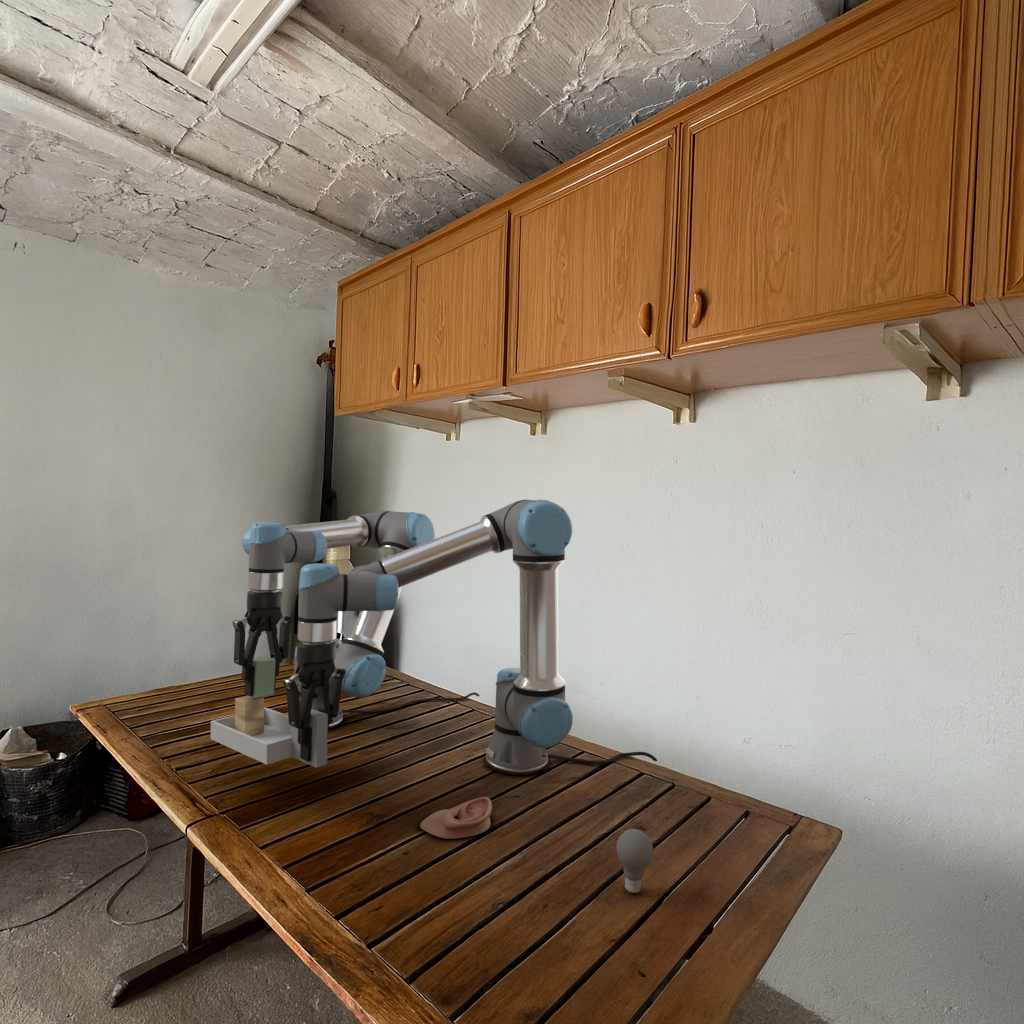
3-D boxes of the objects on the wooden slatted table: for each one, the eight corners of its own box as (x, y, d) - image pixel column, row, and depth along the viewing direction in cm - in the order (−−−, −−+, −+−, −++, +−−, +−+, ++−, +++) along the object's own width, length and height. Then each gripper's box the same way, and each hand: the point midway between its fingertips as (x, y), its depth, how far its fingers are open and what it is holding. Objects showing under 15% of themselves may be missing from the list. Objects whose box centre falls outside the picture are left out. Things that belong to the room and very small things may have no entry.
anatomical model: (414, 813, 120) (434, 787, 131) (414, 834, 120) (433, 806, 131) (482, 823, 117) (496, 795, 129) (481, 844, 118) (495, 815, 129)
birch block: (253, 728, 146) (253, 694, 146) (263, 733, 143) (264, 697, 143) (234, 734, 143) (234, 698, 143) (245, 738, 140) (245, 702, 140)
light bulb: (610, 879, 108) (613, 822, 108) (644, 879, 109) (647, 822, 109) (619, 902, 102) (622, 840, 102) (655, 901, 103) (658, 840, 103)
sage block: (263, 689, 147) (265, 655, 147) (273, 694, 144) (275, 659, 144) (245, 693, 144) (247, 658, 144) (255, 698, 141) (257, 662, 141)
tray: (210, 739, 141) (210, 694, 141) (265, 724, 151) (266, 682, 151) (292, 776, 121) (292, 723, 121) (349, 756, 131) (349, 707, 131)
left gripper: (291, 586, 153) (286, 682, 153) (219, 590, 140) (213, 696, 140) (308, 590, 148) (303, 689, 148) (235, 595, 135) (229, 704, 135)
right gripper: (337, 632, 136) (333, 741, 136) (270, 643, 123) (266, 763, 124) (360, 638, 131) (355, 751, 131) (292, 650, 119) (288, 774, 119)
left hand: (259, 692), depth 144 cm, fingers closed on sage block, 4 cm apart
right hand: (312, 756), depth 128 cm, fingers closed on tray, 2 cm apart
